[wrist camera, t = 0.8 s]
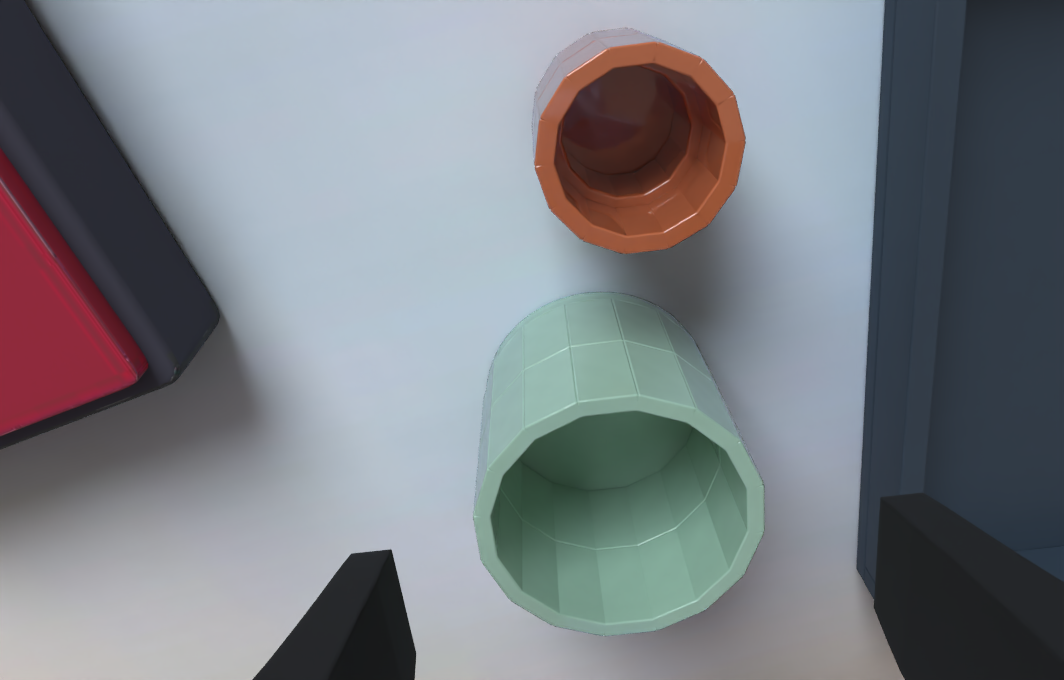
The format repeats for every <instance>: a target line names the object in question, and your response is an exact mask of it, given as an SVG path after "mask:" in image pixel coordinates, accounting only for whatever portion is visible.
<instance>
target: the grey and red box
mask: <svg viewBox="0 0 1064 680" xmlns="http://www.w3.org/2000/svg"><path fill="white" fill-rule="evenodd" d="M218 321H219V312H218V309H217V307H216V305H215V304H214V302H213V300H212V299H211V297H210V296H209V294H208V292H207V291H206V289H205V288H204V286H203V284H202V283H201V281H200V280H199V278H198V276H197V275H196V273H195V272H194V270H193V269H192V267H191V265H190V264H189V262H188V261H187V259H186V257H185V256H184V254H183V253H182V251H181V249H180V248H179V246H178V245H177V243H176V241H175V240H174V238H173V237H172V235H171V234H170V232H169V230H168V229H167V227H166V226H165V224H164V222H163V221H162V219H161V218H160V216H159V214H158V213H157V211H156V210H155V208H154V207H153V205H152V203H151V202H150V200H149V199H148V197H147V195H146V194H145V192H144V191H143V189H142V187H141V186H140V184H139V183H138V181H137V180H136V178H135V176H134V175H133V173H132V172H131V170H130V168H129V167H128V165H127V164H126V162H125V160H124V159H123V157H122V156H121V154H120V153H119V151H118V149H117V148H116V146H115V145H114V143H113V141H112V140H111V138H110V137H109V135H108V133H107V132H106V130H105V129H104V127H103V126H102V124H101V122H100V121H99V119H98V118H97V116H96V114H95V113H94V111H93V110H92V108H91V106H90V105H89V103H88V102H87V100H86V98H85V97H84V95H83V94H82V92H81V91H80V89H79V87H78V86H77V84H76V83H75V81H74V79H73V78H72V76H71V75H70V73H69V71H68V70H67V68H66V67H65V65H64V64H63V62H62V60H61V59H60V57H59V56H58V54H57V52H56V51H55V49H54V48H53V46H52V44H51V43H50V41H49V40H48V38H47V37H46V35H45V33H44V32H43V30H42V29H41V27H40V25H39V24H38V22H37V21H36V19H35V17H34V16H33V14H32V13H31V11H30V10H29V8H28V6H27V5H26V3H25V2H24V0H0V449H3V448H6V447H8V446H11V445H13V444H16V443H19V442H21V441H24V440H26V439H29V438H32V437H34V436H37V435H40V434H42V433H45V432H47V431H50V430H53V429H55V428H58V427H61V426H63V425H66V424H68V423H71V422H74V421H76V420H79V419H82V418H84V417H87V416H89V415H92V414H95V413H97V412H100V411H103V410H105V409H108V408H110V407H113V406H116V405H118V404H121V403H124V402H126V401H129V400H131V399H134V398H137V397H139V396H142V395H145V394H147V393H150V392H152V391H155V390H158V389H160V388H163V387H165V386H167V385H170V384H172V383H173V382H175V381H176V380H177V379H178V378H179V377H180V375H181V374H182V373H183V371H184V370H185V369H186V367H187V366H188V365H189V363H190V362H191V361H192V359H193V358H194V356H195V355H196V354H197V352H198V351H199V349H200V348H201V347H202V345H203V344H204V342H205V341H206V340H207V338H208V337H209V335H210V334H211V333H212V331H213V330H214V328H215V327H216V325H217V324H218Z"/></svg>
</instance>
